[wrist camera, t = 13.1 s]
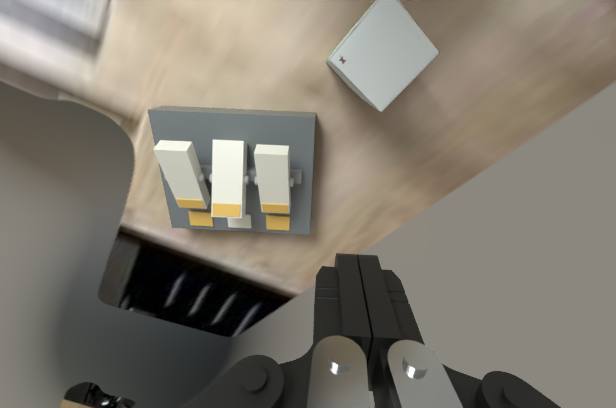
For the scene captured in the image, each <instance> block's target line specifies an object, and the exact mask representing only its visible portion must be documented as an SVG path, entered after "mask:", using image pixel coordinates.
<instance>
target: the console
mask: <svg viewBox="0 0 616 408" xmlns="http://www.w3.org/2000/svg"><path fill="white" fill-rule="evenodd" d="M148 114H149V119H150V123H151V128H152V133H153V138H154V142H155V146H156V145H157V144H158V142H159V141H160V140H168V141H189V142H192V143H193V146H194V149H195V152H196V155H197V158H198V161H199V165H200V168H201V171H202V173H203V174H205V183H206V186H207V189H208V192H209V195H210V202H209V204H208V207H207V209H200V208H181V207H179V206H178V204H177V202H176V199H175V197H174V195H173V193H172V190H171V188H170V186H169V184H168V182H167V181H166V180H165V178H164V173H163V171H162V168H161V166H160V164H159V166H160V171H161V176H162V181H163V186H164V190H165V195H166V200H167V205H168V209H169V214H170V219H171V224H172V228H190V229H209V230H227V231H246V232H264V233H283V234H302V235H310V224H311V204H312V182H313V161H314V140H315V118H316V113H311V112H289V111H266V110H244V109H221V108H198V107H176V106H161V107H157V108H153V109H149V110H148ZM213 140H234V141H245V142H247V174H246V176H249V184H248V185H246V209H245V217H243V218H227V217H211V206H212V183H210V181H209V177H210V174H212V149H213ZM257 144H262V145H283V146H289V158H290V178H293V179H294V181H293V187H290V191H291V207H290V214H286V213H266V212H262V211H261V204H260V196H259V189H258V185H255V176H257V174H256V167H255V159H254V151H255V148H256V145H257Z"/></svg>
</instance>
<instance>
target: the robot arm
mask: <svg viewBox="0 0 616 408" xmlns="http://www.w3.org/2000/svg"><path fill="white" fill-rule="evenodd" d="M369 391H373V396H374V402H375V407H374V408H561V407H559V406H558V405H556V404H555V403H554V402H552V401H551V400H550V399H548V398H547V397H546V396H544V395H543V394H542V393H540V392H539V391H537V390H536V389H534V388H533V387H532V386H531V385H529V384H528V383H526V382H525V381H523V380H522V379H520V378H518V377H517V376H514V375H512V374H509V373H506V372H501V371H493V372H490V373H487V374H486V375H485V376H484V378H483V379H482V380H480V379H477V378H474V377H471V376H468V375H466V374H463V373H460V372H457V371H455V370H452V369H450V368H448V367H447V366H445V365H443V364H442V363H441V361H440V360H439V358H438V357H437V355H436V354H435V353H434V352H433V351H432V350H431V349H429V348H428V347H426V346H425V344H424V342H423V340H422V337H421V334H420V331H419V329H418V326H417V323H416V321H415V319H414V315H413V312H412V310H411V307H410V304H408V299H407V296H406V294H405V291H404V288H403V285H402V283H401V280H400V279H399V278H398V277H397V276H396V275H395V274H394V273H393V272H392V270H381V267H380V263H379V260H378V257H377V256H375V255H358V254H357V255H356V254H339V253H336V257H335V267H325V266H322V267H321V269H320V270H319V272H318V274H317V275H316V287H315V304H314V335H313V345H312V347H311V348H310V350H309V351H308V352H307V353H306V354H305V355H303V356H302V357H301V358H298V359H296V360H293V361H290V362H286V363H283V364H278V363H277V362H276V361H274V360H273V359H272V358H270V357H267V356H264V355H252V356H248V357H246V358H244V359H242V360H240V361H239V362H238V363H236V364H235V365H234V366H233V367H231V368H230V369H229V370H228V371H227V372H226V373H224V374H223V375H222V376H221V377H220V378H219V379H218V380H216V381H215V382H214V383H213V384H212V385H211V386H209V387H208V388H207V389H206V390H205V391H204V392H203V393H201V394H200V395H199V396H198V397H197V398H196V399H194V400H193V401H192V402H191V403H190V404H189V405H187V406H186V407H185V408H370V403H369Z"/></svg>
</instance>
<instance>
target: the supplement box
mask: <svg viewBox="0 0 616 408" xmlns="http://www.w3.org/2000/svg"><path fill="white" fill-rule="evenodd" d="M438 54H439V51H438V50H437V49H436V47H435V46H434V45H433V44H432V42H431V41H430V40H429V39H428V38H427V36H426V35H425V34H424V32H423V31H422V30H421V29H420V27H419V26H418V25H417V23H416V22H415V21H414V19H413V18H412V17H411V15H410V14H409V13H408V11H407V10H406V9H405V8H404V6H403V5H402V4H401V2H400V1H399V0H376V1H375V2H374V3H373V4H372V5H371V7H370V8H369V9H368V10H367V11H366V12H365V13H364V15H363V16H362V17H361V18H360V19H359V20H358V21H357V23H356V24H355V25H354V26H353V27H352V28H351V30H350V31H349V32H348V33H347V34H346V35H345V37H344V38H343V39H342V40H341V42H340V43H339V44H338V45H337V47H336V48H335V49H334V51H333V52H332V53H331V55H330V56H329V57H328V59H327V60H326V63H327V64H328V65H329V66H330V67H331V68H332V69H333V70H334V71H335V72H336V74H337V75H338V76H339V77H340V78H341V79H342V80H343V81H344V82H345V83H346V84H347V85H348V86H349V87H350V88H351V89H352V90H353V91H354V92H355V93H356V94H357V95H358V96H359V97H360V98H361V99H362V100H364V101H365V102H367V103H368V104H370V105H371V106H372V107H374V108H375V109H377V110H378V111H380V112H382V111H383V110H384V109H385V108H386V107H387V106H388V105H389V104H390V103H391V102H392V101H393V100H394V99H395V98H396V97H397V96H398V95H399V94H400V93H401V92H402V91H403V90H404V89H405V88H406V87H407V86H408V85H409V84H410V83H411V82H412V81H413V80H414V79H415V78H416V77H417V76H418V75H419V74H420V73H421V72H422V71H423V70H424V69H425V68H426V66H427V65H428V64H429V63H430V62H431V61H432V60H433V59H434V58H435V57H436V56H437V55H438Z"/></svg>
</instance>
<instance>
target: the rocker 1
mask: <svg viewBox="0 0 616 408" xmlns="http://www.w3.org/2000/svg"><path fill="white" fill-rule="evenodd" d="M153 151H154V153H155V155H156V157H157V159H158V162H159V164H160V166H161V168H162V171H163V173H164V178H165V180H166V181H167V182H168V184H169V186H170V188H171V190H172V193H173V195H174V197H175V199H176V202H177V204H178V206H179V207H181V208H200V209H207V207H208V204H209V202H210V195H209V192H208V189H207V186H206V183H205V174H203V173H202V171H201V168H200V165H199V161H198V158H197V155H196V152H195V149H194V146H193V143H192V142H189V141H168V140H160V141H159V142H158V144H157V145H156V146H155V148H154V149H153Z"/></svg>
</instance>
